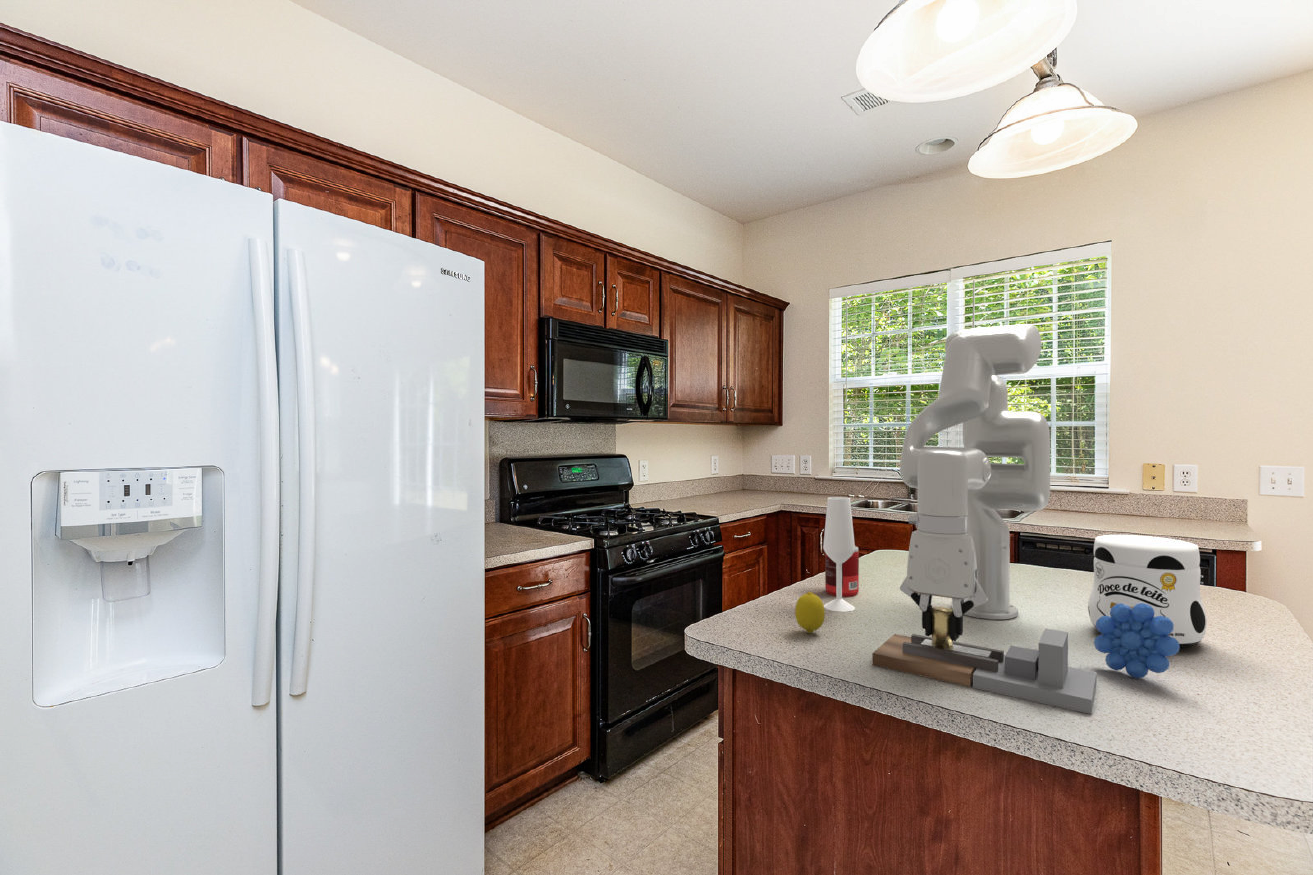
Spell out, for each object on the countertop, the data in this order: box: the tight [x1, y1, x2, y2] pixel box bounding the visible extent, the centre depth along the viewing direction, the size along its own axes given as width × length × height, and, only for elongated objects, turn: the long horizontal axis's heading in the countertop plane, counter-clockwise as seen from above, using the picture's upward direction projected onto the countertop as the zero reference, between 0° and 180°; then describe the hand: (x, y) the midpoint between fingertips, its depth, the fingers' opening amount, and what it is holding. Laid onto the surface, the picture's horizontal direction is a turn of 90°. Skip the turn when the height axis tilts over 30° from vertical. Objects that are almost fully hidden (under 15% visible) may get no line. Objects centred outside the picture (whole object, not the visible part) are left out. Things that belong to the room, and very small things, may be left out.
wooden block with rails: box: [871, 633, 1005, 688], centre depth 103 cm, size 12×18×4 cm, turn 52°
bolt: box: [921, 606, 992, 659], centre depth 102 cm, size 3×10×7 cm, turn 52°
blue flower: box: [1093, 603, 1181, 679], centre depth 98 cm, size 12×7×12 cm, turn 27°
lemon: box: [794, 591, 826, 634], centre depth 120 cm, size 6×6×8 cm
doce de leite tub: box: [1087, 534, 1208, 648], centre depth 116 cm, size 17×17×18 cm
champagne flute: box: [822, 496, 856, 613], centre depth 137 cm, size 7×7×24 cm
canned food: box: [824, 545, 860, 598], centre depth 149 cm, size 8×8×11 cm
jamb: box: [972, 628, 1097, 715], centre depth 95 cm, size 12×15×8 cm
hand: (942, 635), depth 103 cm, fingers closed on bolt, 3 cm apart
